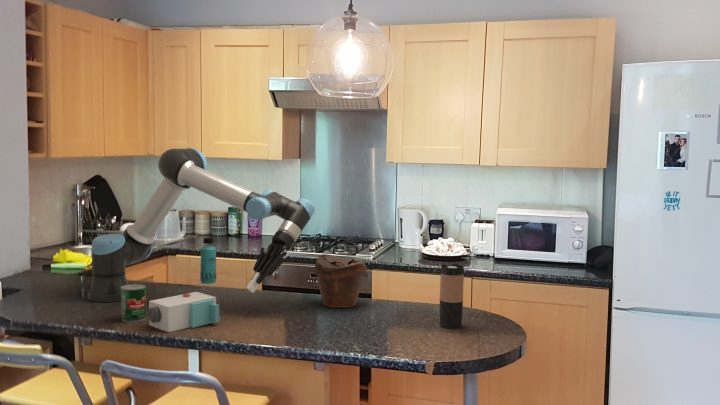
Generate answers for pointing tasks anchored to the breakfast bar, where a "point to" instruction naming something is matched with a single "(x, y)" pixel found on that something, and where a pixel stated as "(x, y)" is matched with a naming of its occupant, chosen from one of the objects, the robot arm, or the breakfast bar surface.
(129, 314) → the canned tomato
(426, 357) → the breakfast bar surface
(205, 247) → the beverage bottle
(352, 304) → the brown tapered cylinder
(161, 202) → the robot arm
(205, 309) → the door
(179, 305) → the block
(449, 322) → the travel mug
